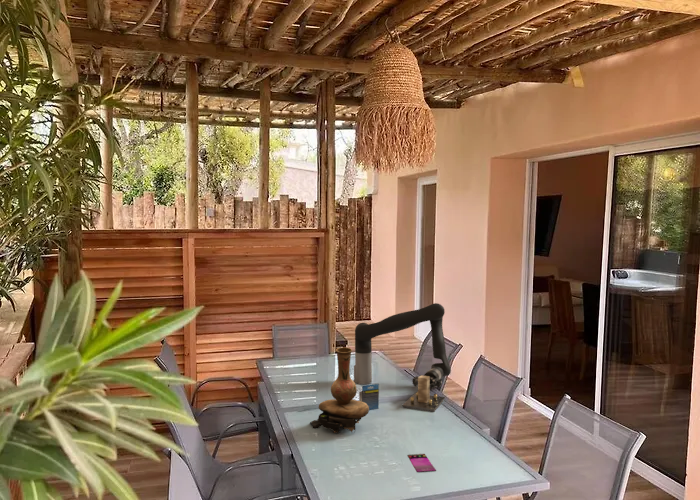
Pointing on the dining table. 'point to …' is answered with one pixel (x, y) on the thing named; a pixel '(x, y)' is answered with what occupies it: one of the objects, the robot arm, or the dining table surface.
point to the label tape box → (370, 396)
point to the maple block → (423, 389)
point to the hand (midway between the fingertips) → (423, 385)
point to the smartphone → (421, 463)
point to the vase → (342, 399)
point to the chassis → (429, 406)
